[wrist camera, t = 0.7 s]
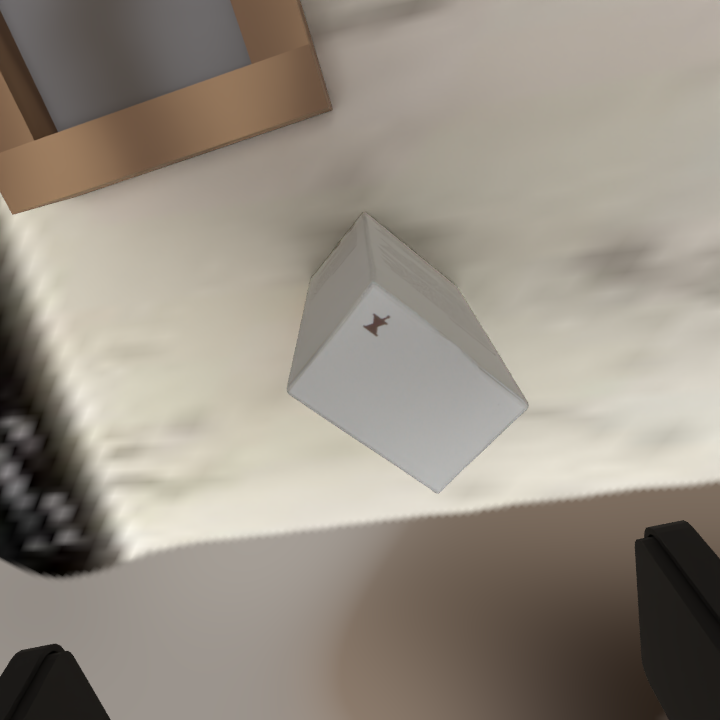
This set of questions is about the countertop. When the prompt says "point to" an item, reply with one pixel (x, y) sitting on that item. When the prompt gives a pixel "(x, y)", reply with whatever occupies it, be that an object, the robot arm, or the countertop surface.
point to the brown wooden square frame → (142, 87)
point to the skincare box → (400, 358)
